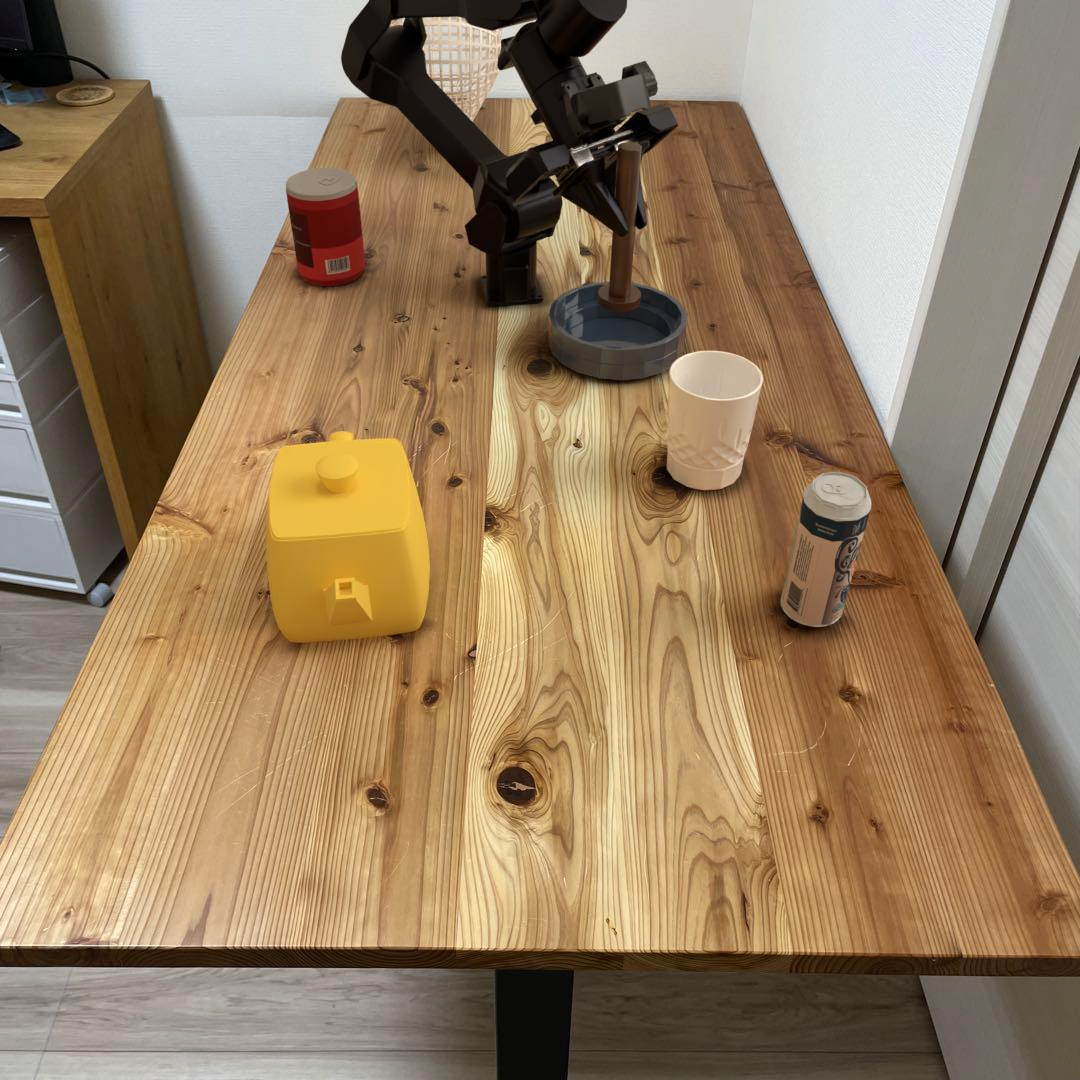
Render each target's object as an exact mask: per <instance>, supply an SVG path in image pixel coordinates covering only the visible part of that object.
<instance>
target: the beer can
mask: <svg viewBox="0 0 1080 1080" xmlns="http://www.w3.org/2000/svg"><path fill="white" fill-rule="evenodd" d="M871 510H872V499H871V496H870V493H869V491H868V486H867V485H866V484H865V483H864V482H862V481H861V480H860V479H859V478H858V477H857V476H854V475H851V474H848V473H845V472H843V471H842V472H841V471H832V472H821V474H819V475H818V476H817V477H815V478H813V479H812V481H811V482H810V483H809V484H808V485H806V487H805V489H803V495H802V500H801V505H800V510H799V514H798V518H797V523H796V529H795V531H794V537H793V542H792V547H791V551H790V556H789V561H788V565H787V570H786V574H785V579H784V584H783V587H782V593H781V597H780V606H781V609H782V611H783V612H784V613H785V614H786V615H787V617H788V618H790V619H791V620H792V621H794V622H796V623H799V624H800V625H803V626H808V627H810V628H822V627H829V626H831V625H833V624H835V623H837V621H839V620H840V619H841V618H842V616H843V612H844V609H845V605H846V602H847V597H848V594H849V590H850V586H851V583H852V579H853V575H854V572H855V567H856V564H857V560H858V557H859V554H860V549H861V546H862V542H863V539H864V535H865V531H866V527H867V523H868V520H869V516H870V514H871Z"/></svg>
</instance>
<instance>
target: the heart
mask: <svg viewBox="0 0 1080 1080" xmlns="http://www.w3.org/2000/svg"><path fill="white" fill-rule="evenodd" d="M423 23H424V27H425V30H426V31H427V33H426V34H427V39H426V41H425V44H424V47H423V49H422V50H423V51H424V53H425V59H426V68H427V74H428V75H429V77H430V78H431V79H432V80H433V81H434V82H435V83H436V84H437V85H438V86H439V87H440V88H441V89H442V90H443V91H444V92H445V93H446V94H447V96H448V97H449V98H450V99H451V100H452V101H453V102H454V103H455V104H456V105H457V106H458V107H459V108H460V109H461V110H462V111H463V112H464V113H465V114H466V115H467V116H468V118H469V119H470V120H471V121H472V122H473V123H474V120H475V118H476V116H477V115H478V113H479V112H480V109H481V107H482V106H483V104H484V102H485V100H486V99H487V97H488V95H489V94H490V92H491V91H492V88H493V87H494V84H495V82H496V80H497V77H498V75H499V72H500V70H499V69H498V67H497V64H498V56H499V54H500V50H501V40H502V31H503V28H501V29H497V30H493V31H491V30H486V29H483V28H479V27H476V26H472V25H470V24H469V23H467V21H466V20H465V19H464V18H461V17H427V18H423ZM394 25H403V18H401V19H397V20H392V21H391V24H390V26H394ZM390 26H389V27H390ZM426 27H427V29H426ZM434 27H437V31H438V32H435V29H434ZM443 27H448V32H443ZM452 27H456V30H457V32H452ZM462 28H464V32H463V31H462ZM476 31H478V34H476ZM483 33H485V34H486V36H485V35H483ZM435 37H438V39H435ZM443 37H448V39H443ZM452 37H457V38H456V40H452ZM463 37H464V40H462V38H463ZM476 39H478V42H477V41H476ZM483 40H485V43H483ZM435 45H438V47H435ZM443 45H448V47H447V46H445V47H444V46H443ZM452 45H455V46H456V45H457V47H455V46H454V47H453V46H452ZM463 46H464V47H463ZM483 51H485V56H483V55H482V52H483ZM435 52H438V59H436V57H435V56H436V55H435ZM443 52H448V58H449V59H443ZM452 52H457V59H453V57H452V55H453V53H452ZM463 52H464V53H465V54H464V59H463ZM475 52H478V58H477V59H476V57H475V56H476V55H475V54H476V53H475ZM475 64H477V69H475ZM482 64H483V65H482ZM436 65H438V67H439V72H437V71H436ZM443 65H449V66H448V67H449V68H448V69H449V70H448V71H449V72H443V71H444V68H443ZM453 65H457V72H453ZM463 65H464V72H463ZM428 69H429V70H428ZM484 69H485V71H484V72H483V70H484ZM482 72H483V73H482ZM467 81H468V82H467ZM444 82H448V83H444ZM454 82H456V83H454ZM474 85H476V86H475V87H474ZM455 87H456V90H454V88H455ZM467 87H468V88H467ZM445 88H449V90H446V91H445ZM466 88H467V89H466ZM465 97H466V99H464V98H465ZM459 98H460V100H458V99H459Z"/></svg>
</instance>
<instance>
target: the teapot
mask: <svg viewBox="0 0 1080 1080" xmlns="http://www.w3.org/2000/svg"><path fill="white" fill-rule="evenodd" d="M268 488H269V489H268V497H267V505H266V506H267V507H266V521H265V522H266V523H265V557H266V558H265V560H266V571H267V580H268V588H269V596H270V601H271V607H272V612H273V616H274V619H275V622H276V624H277V627H278V629H279V631H280V632H281V634H282V635H283V636H284V638H286V639H287V641H288V642H290V643H299V644H300V643H303V644H304V643H321V642H333V641H334V642H336V641H347V640H359V639H369V638H378V637H385V636H395V635H401V634H409V633H412V632H416V631H418V630H419V629H420V627H421V626H422V624H423V621H424V618H425V615H426V613H427V612H426V611H427V606H428V600H429V594H430V593H429V592H430V579H431V559H430V558H431V557H430V547H429V539H428V533H427V527H426V522H425V518H424V517H425V516H424V513H423V509H422V505H421V501H420V497H419V493H418V489H417V486H416V484H415V479H414V475H413V472H412V470H411V466H410V464H409V460H408V457H407V454H406V451H405V448H404V446H403V444H402V442H401V441H400V440H399V439H397V438H396V437H388V438H386V437H385V438H361V439H355V436H354V434H353V433H352V432H350V431H346V430H340V431H335V432H332V433H330V434H329V436H328V440H327V441H319V442H310V443H309V442H308V443H301V444H300V443H299V444H290V445H283V446H282V447H281V448H279V450H278V451H277V453H276V455H275V458H274V460H273V464H272V469H271V475H270V481H269V487H268Z"/></svg>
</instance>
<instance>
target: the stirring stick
mask: <svg viewBox="0 0 1080 1080" xmlns="http://www.w3.org/2000/svg"><path fill="white" fill-rule="evenodd" d="M641 150H642V146H641V145H640V144H638V143H634V142H623V143H620V144H619V145H618V154H617V169H616V185H615V199H616V201H617V204H618V206H619V208H620V210H621V212H622V214H623V216H624V218H625V221H626V224H627V226H628V229H629V233H628V234H627V235H625V236H624V237H620V236H618V235H617V234H616V233H614V232H613V231H612V234H611V235H612V236H611V250H610V251H611V252H610V265H609V266H610V268H609V281H608V282H609V284H606V285H604V286H602V287H601V288H600V289H599V290H598V304H599V305H600V306H601V307H603V308H604V309H607V310H610V311H615V312H626V311H631V310H634V309H636V308H637V307H638V306H639V305H640V301H641V292H640V290H639V289H638V288H637V287H635V286H633V285H631V283H632V278H633V277H632V276H633V266H634V265H633V263H634V252H635V239H636V238H635V237H636V228H637V227H636V214H637V201H638V188H639V175H640V174H641V164H642V160H641ZM640 163H641V164H640Z"/></svg>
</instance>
